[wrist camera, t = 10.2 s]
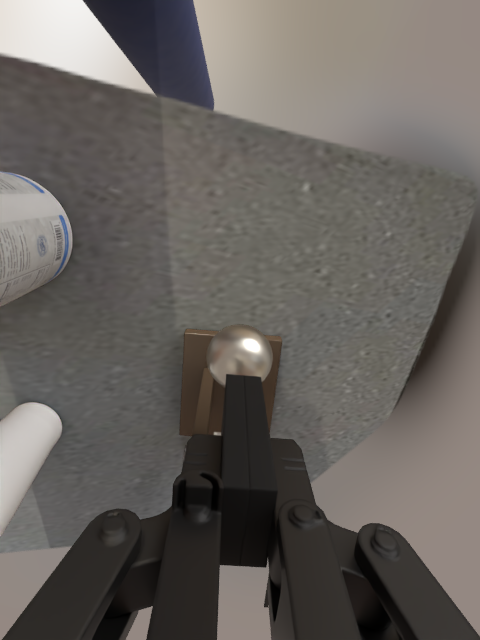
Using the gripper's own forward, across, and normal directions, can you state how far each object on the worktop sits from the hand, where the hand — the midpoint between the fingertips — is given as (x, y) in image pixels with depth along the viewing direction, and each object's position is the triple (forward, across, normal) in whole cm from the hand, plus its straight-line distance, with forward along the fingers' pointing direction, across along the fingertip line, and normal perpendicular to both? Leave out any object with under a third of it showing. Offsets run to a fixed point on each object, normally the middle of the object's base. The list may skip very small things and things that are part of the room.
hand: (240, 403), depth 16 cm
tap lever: (+8, 0, -4) cm, 8 cm away
